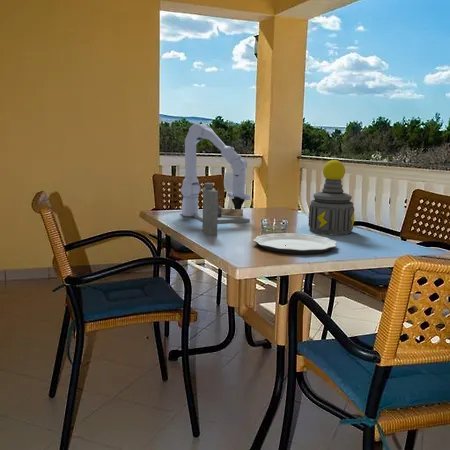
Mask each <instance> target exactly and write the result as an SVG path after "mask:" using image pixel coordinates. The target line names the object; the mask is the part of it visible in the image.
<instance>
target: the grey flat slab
mask: <svg viewBox="0 0 450 450" xmlns="http://www.w3.org/2000/svg"><path fill="white" fill-rule="evenodd" d="M193 217H194V218H196V219H197V220H198V221H200V222H202V223H203V212H202V213H199V212H198V213H197V214H194V216H193ZM250 221H251V220H250V218H249V217H246V216H244V215H243V217H238V216H218V219H217V224H229V223H230V224H232V223H233V224H234V223H251V222H250Z"/></svg>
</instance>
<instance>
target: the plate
mask: <svg viewBox="0 0 450 450" xmlns="http://www.w3.org/2000/svg"><path fill="white" fill-rule="evenodd" d="M252 241H253V242H254V243H256V244H258V245H259V246H261V247H262V248H263V249H265V250H268V251H271V252H277V253H282V254H291V255H313V254H314V255H315V254H321V253H325V252H328V251H329V250H332V249H335V248H336V247H337V244H338V242H337V241H336V240H333V239H330V238H328V237H326V236H318V235H313V234H305V233H291V232H285V233H282V232H281V233H267V234H262V235H257V236H256V237H255V238H253V239H252ZM285 245H286V246H285Z"/></svg>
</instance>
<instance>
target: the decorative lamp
mask: <svg viewBox="0 0 450 450" xmlns="http://www.w3.org/2000/svg"><path fill="white" fill-rule="evenodd" d="M322 174H323V177H324V178H325V180H324V183H323V188H322V189H321V191H317V192H316V193H313V199H312V200H311V201H310V204H309V209H308V216H307V218H308V227H309V231H310V232H311V233H313V234H314V233H315V234H319V235H327V236H328V235H329V236H345V235H346V236H347V235H349V234H351V233H352V231H353V229H354V223H355V206H354V202H352V201H351V200H352V195H350V194H349V193H346V192H345V191H344V189H343V184H342V181H343V180H342V179H343V178H344V176H345V174H346V168H345V165H344V164H343V162H341V161H340V160H337V159H331V160H329V161H327V162H326V163H325V164H324V166H323V167H322Z"/></svg>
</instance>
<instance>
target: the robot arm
mask: <svg viewBox="0 0 450 450" xmlns="http://www.w3.org/2000/svg"><path fill="white" fill-rule="evenodd" d="M204 139H205V140H209V141H210V142H211V143H212V144H213V145H214V146H215V147H217V149H218V150H219V151H220V155H221V156H222V157H223V158H224V159H225V160H226V161H227V162H228V164H229V165H230V168H231V170H232V171H233V189H232V192H227V193H226V194H227V196H226V197H228V198H229V197H233V198H232V205H233V206H234V209H242V206H243V204H244V203H245V201H250V200H251V195H249V194H246V193H245V192H246V191H245V189H246V169H247V168H248V161H247V160H246V158H244V157H242V156H241V155H240V154H239V153H237V152H236V150H235V148H234V147H233V146H230V145H226V144H225V143H224V142H223V141H222V139H221V138H220V137H219V136H218V135H217V134H216V133H215V131H214V129H212V128H211V127H210V126H209V125H208V124H205V123H204V124H203V123H201V124H200V123H194V124H192V125H191V126H190V127H189V128H188V133H187V135H186V137H185V138H184V169H185V170H184V171H185V173H184V174H185V175H184V179H183V180H182V186H181V188H180V193H181V195H182V201H181V212H179V214H180V215H182V216H183V217H194V214H197V213H199V194H200V193H201V192H202V191H201V189H202V188H201V185H200V182H199V179H198V177H197V171H198V170H197V144H198V143H199V142H200V141H202V140H204Z"/></svg>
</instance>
